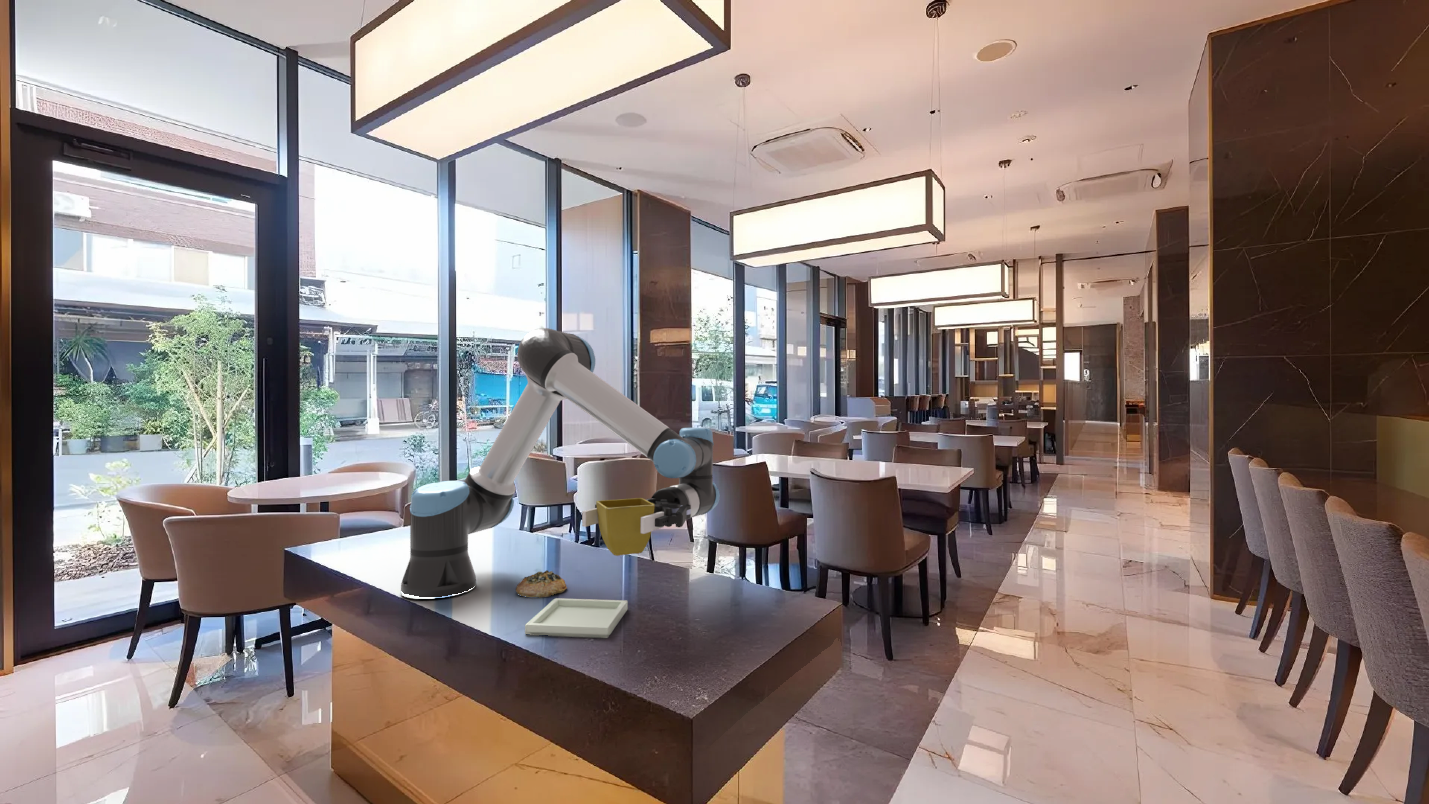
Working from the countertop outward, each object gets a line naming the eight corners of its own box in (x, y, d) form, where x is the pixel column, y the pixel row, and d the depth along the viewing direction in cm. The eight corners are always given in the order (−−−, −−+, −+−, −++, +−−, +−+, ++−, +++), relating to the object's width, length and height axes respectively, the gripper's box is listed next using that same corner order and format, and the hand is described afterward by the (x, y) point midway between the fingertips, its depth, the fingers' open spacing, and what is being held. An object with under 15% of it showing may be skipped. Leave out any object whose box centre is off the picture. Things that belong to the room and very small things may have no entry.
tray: (525, 634, 106) (525, 624, 106) (554, 607, 121) (555, 598, 121) (607, 638, 105) (607, 627, 105) (627, 609, 120) (627, 600, 120)
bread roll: (536, 581, 139) (538, 560, 139) (576, 593, 135) (578, 571, 135) (503, 596, 129) (505, 574, 129) (545, 610, 125) (547, 587, 125)
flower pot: (605, 560, 101) (606, 507, 101) (595, 549, 109) (595, 500, 109) (655, 555, 105) (655, 504, 105) (641, 545, 113) (641, 497, 113)
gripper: (726, 528, 118) (672, 551, 98) (625, 517, 128) (558, 536, 109) (726, 490, 118) (672, 506, 99) (625, 482, 129) (558, 495, 109)
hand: (612, 522), depth 104 cm, fingers closed on flower pot, 12 cm apart
